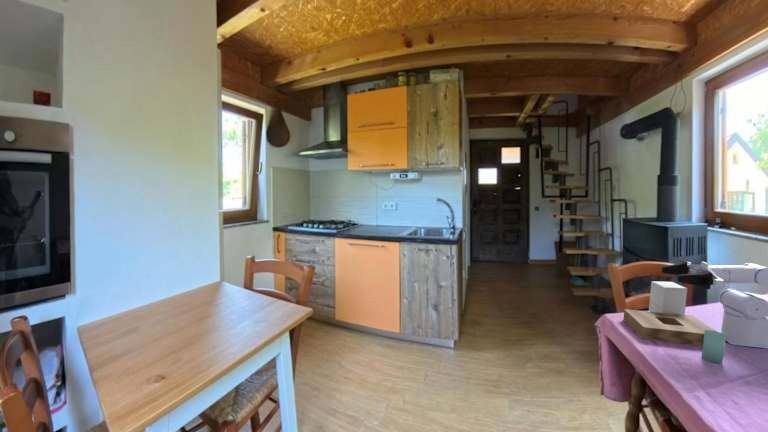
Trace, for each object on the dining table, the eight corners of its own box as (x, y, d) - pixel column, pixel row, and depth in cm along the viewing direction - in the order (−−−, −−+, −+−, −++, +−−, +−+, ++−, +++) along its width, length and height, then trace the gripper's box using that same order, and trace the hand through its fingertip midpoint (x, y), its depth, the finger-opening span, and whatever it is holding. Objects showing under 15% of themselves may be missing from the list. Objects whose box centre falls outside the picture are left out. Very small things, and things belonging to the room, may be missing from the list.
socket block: (691, 326, 105) (692, 315, 104) (721, 348, 92) (723, 335, 91) (623, 319, 111) (624, 309, 110) (642, 338, 98) (644, 327, 97)
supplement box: (684, 321, 108) (688, 288, 107) (661, 320, 110) (664, 287, 108) (669, 313, 116) (673, 281, 114) (647, 311, 117) (650, 280, 115)
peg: (715, 356, 87) (718, 330, 86) (726, 364, 84) (729, 337, 83) (698, 354, 89) (701, 329, 88) (707, 362, 85) (711, 335, 84)
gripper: (705, 255, 101) (657, 255, 104) (744, 270, 87) (687, 270, 90) (702, 274, 102) (655, 274, 105) (741, 293, 88) (685, 292, 92)
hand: (670, 274), depth 98 cm, fingers open, 7 cm apart
